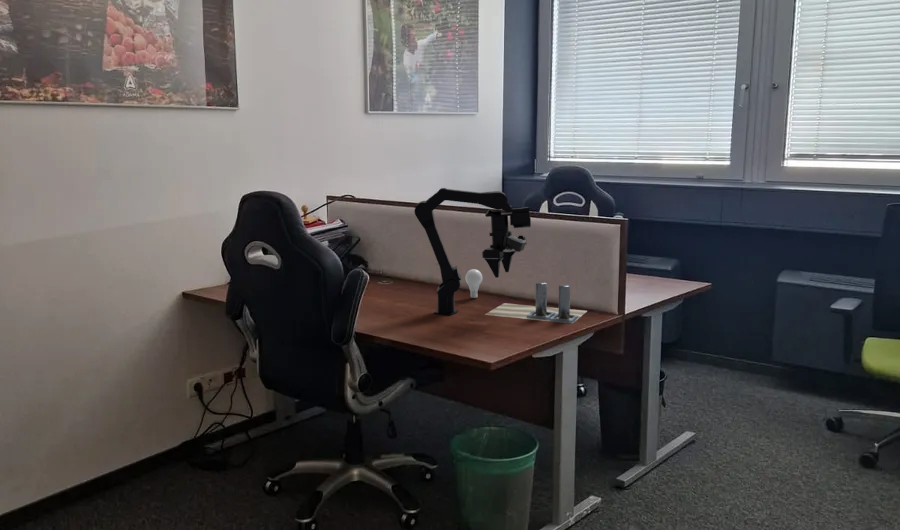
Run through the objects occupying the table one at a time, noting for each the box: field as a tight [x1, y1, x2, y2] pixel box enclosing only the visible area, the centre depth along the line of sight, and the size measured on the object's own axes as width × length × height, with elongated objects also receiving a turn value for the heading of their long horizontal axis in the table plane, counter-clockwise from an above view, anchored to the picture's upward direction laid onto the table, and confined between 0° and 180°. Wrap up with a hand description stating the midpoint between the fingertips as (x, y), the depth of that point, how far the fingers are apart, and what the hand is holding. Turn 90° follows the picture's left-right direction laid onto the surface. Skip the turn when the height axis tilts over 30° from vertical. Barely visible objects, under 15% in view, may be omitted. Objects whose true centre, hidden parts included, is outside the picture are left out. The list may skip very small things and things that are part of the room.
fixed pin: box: [558, 284, 571, 320], centre depth 241 cm, size 4×4×11 cm
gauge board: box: [484, 302, 588, 324], centre depth 251 cm, size 18×30×2 cm, turn 65°
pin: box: [535, 281, 548, 317], centre depth 245 cm, size 4×4×11 cm
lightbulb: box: [464, 268, 483, 299], centre depth 278 cm, size 6×6×11 cm
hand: (502, 274), depth 254 cm, fingers open, 9 cm apart
